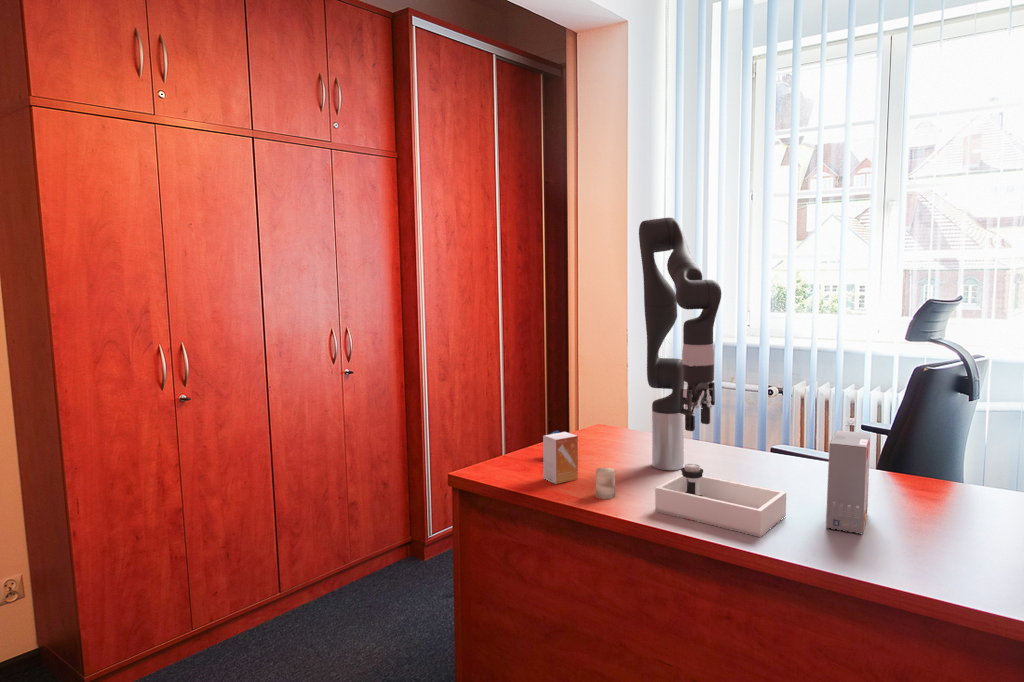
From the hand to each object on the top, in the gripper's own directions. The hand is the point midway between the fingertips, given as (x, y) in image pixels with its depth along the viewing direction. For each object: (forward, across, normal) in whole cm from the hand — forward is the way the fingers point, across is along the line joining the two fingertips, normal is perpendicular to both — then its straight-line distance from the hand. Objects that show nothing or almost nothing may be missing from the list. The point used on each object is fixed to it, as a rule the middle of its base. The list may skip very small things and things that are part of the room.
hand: (697, 427), depth 160 cm
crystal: (+21, -15, -54) cm, 60 cm away
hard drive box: (+21, -14, +31) cm, 40 cm away
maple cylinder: (+21, +6, -23) cm, 32 cm away
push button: (+20, +1, 0) cm, 20 cm away
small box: (+21, +2, -41) cm, 46 cm away
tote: (+21, 0, +6) cm, 22 cm away
